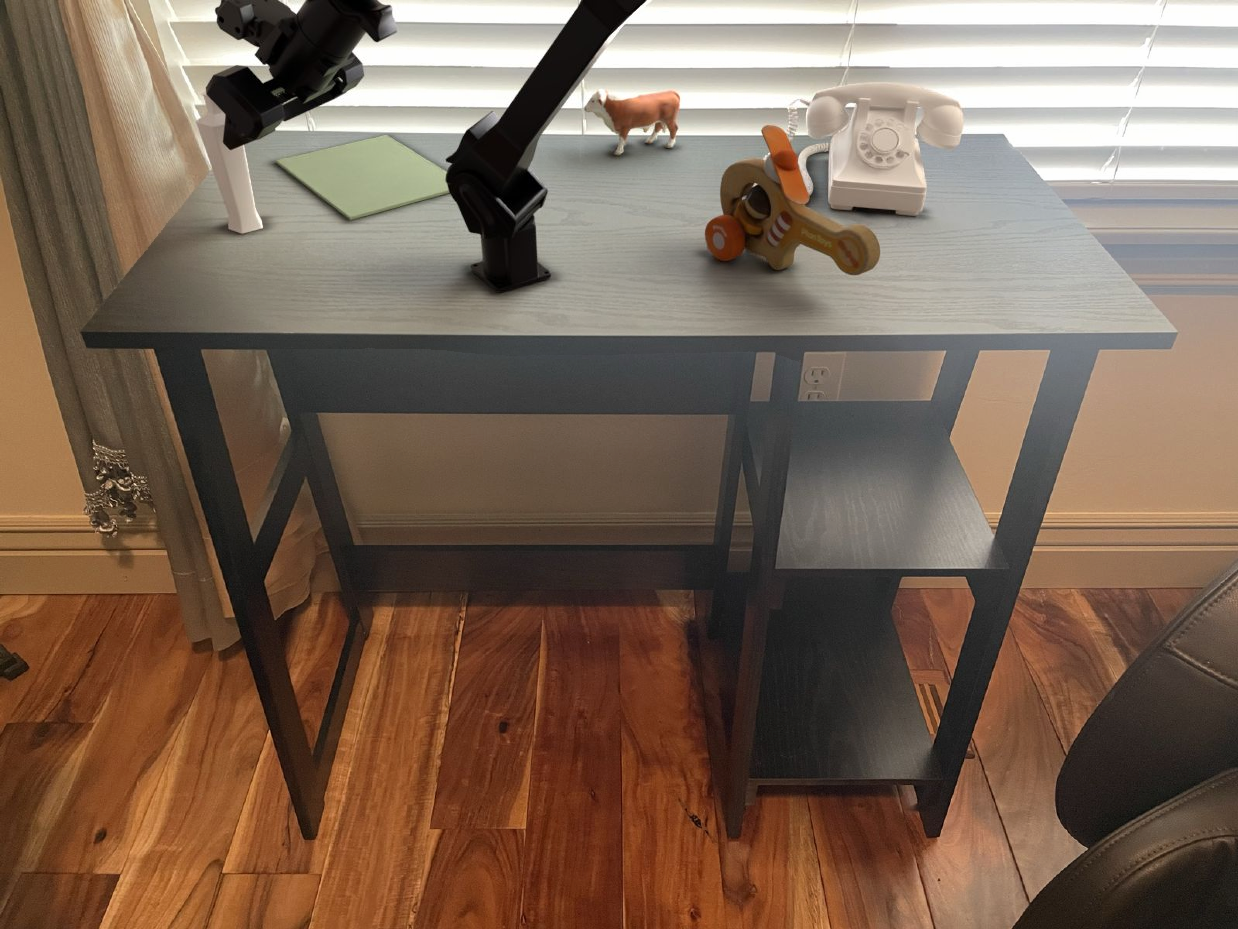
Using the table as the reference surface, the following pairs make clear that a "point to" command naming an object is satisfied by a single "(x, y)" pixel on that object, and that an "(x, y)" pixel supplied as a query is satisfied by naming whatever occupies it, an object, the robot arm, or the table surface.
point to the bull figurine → (636, 113)
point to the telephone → (877, 142)
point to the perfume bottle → (229, 171)
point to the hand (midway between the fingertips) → (255, 131)
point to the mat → (368, 176)
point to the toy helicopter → (781, 215)
